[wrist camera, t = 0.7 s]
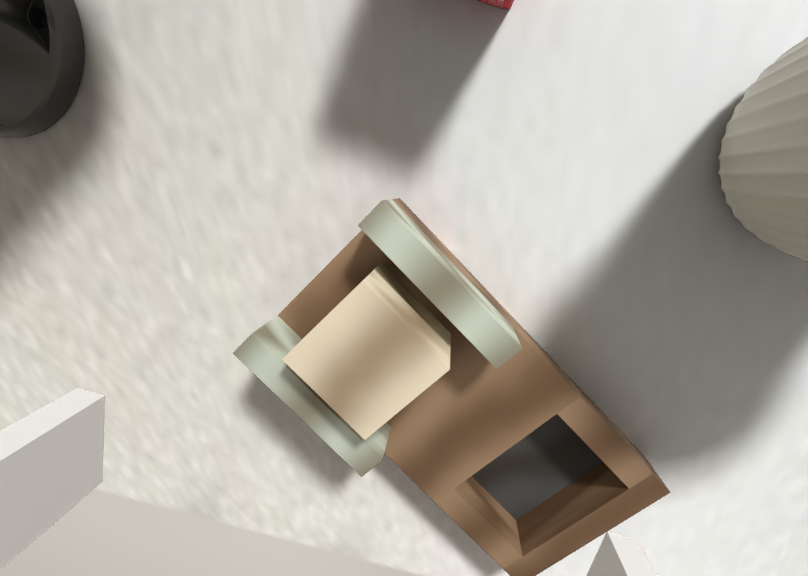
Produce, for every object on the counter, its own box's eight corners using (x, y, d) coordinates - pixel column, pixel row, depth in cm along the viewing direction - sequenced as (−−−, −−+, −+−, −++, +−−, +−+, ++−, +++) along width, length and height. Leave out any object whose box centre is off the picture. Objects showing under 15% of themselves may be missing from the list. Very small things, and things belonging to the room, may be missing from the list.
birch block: (315, 326, 30) (281, 359, 24) (381, 262, 28) (362, 280, 22) (381, 392, 30) (364, 439, 25) (450, 333, 29) (449, 369, 23)
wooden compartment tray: (282, 316, 34) (232, 353, 27) (399, 198, 31) (381, 200, 23) (513, 543, 37) (528, 637, 29) (645, 457, 33) (702, 537, 26)
